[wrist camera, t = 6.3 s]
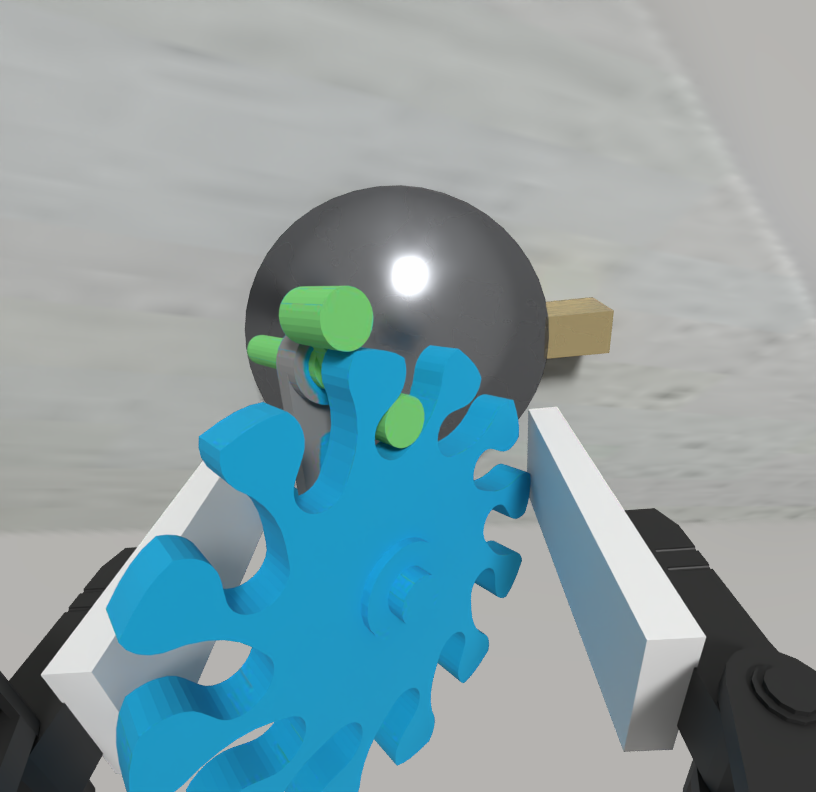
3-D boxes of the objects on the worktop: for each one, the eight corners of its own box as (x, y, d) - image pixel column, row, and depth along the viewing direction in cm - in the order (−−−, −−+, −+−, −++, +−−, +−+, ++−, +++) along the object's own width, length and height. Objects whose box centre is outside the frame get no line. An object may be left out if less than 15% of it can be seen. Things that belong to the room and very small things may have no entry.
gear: (546, 639, 13) (220, 1036, 7) (411, 556, 17) (129, 753, 11) (557, 261, 10) (-68, 343, 3) (386, 269, 14) (-42, 313, 8)
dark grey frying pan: (294, 459, 26) (283, 485, 24) (228, 203, 20) (204, 206, 18) (581, 435, 25) (597, 460, 23) (603, 160, 19) (630, 157, 17)
